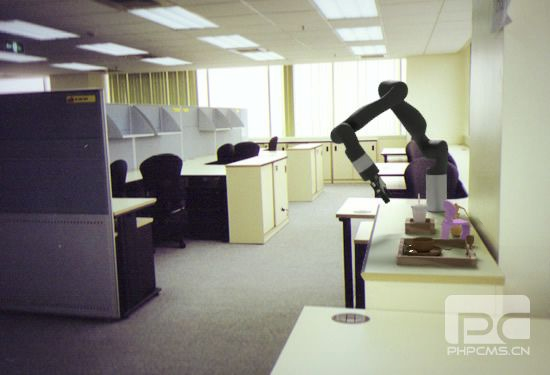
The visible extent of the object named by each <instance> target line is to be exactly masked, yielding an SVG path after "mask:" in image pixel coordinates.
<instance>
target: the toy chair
mask: <svg viewBox="0 0 550 375" xmlns="http://www.w3.org/2000/svg"><path fill="white" fill-rule="evenodd" d="M454 204H455V203H453V202H452V201H450V200H448V199H447V200H445V201H444V203H443V206H444V209H445V211H444V214H446V215H445V219H442V220H443V221H442V224H441V235H440V237H439V238H441V239H450V238H449V237H450V233H451V228H452V227H453V226H457V225H459V226H460V227H461V228H462V233H461V234H460V237H459V239H466V236H467V235H471V234H470V232H471V225H470V221H467V220H464V219H461V218H460V219H458V218H454V219H453V216H455V217H456V216H457V215H456V206H455V205H454Z"/></svg>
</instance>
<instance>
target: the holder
mask: <svg viewBox="0 0 550 375" xmlns="http://www.w3.org/2000/svg"><path fill="white" fill-rule="evenodd" d="M404 234H409V235H410V234H416V235H418V234H420V235H422V234H423V235H424V234H425V235H436V221H435V217H426V220H425V223H419V222H414V221H413V217H406V218H405V222H404Z"/></svg>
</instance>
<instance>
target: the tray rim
mask: <svg viewBox="0 0 550 375" xmlns="http://www.w3.org/2000/svg"><path fill="white" fill-rule="evenodd" d="M413 238H414V237H400V240H399V246H398V249H397V256H396V265H399V266H400V265H402V266H404V265H405V266H430V267H458V268H459V267H461V268H476V267H477V259H476V256H475V255H476V254H475V255H474V253H475V252H474V249H473V247H469V245H468V244H467V243H466V239H460V238H449V239H441V238H440V237H439V238H437V237H436V238H435V237H433V239H434V245H436V246H440V247H442V248H445V247H446V248H447V247H448V248H449V247H450V248H465V250H466V253H467V252H468V255H467V257H464V256H463V257H462V256H460V257H459V256H457V257H456V256H434V257H430V256H410V255H404V252H405V250H404V249H405V246H404V245H408V246H409V245H412V239H413Z"/></svg>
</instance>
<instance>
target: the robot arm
mask: <svg viewBox="0 0 550 375" xmlns="http://www.w3.org/2000/svg"><path fill="white" fill-rule="evenodd" d="M377 88H378V89H377V93H378V96H379V98H378V99H376V100H374V101H371V102H369V103H367V104H365V105H362V106H361V107H359V108H357V110H355V111H354V112H353V113H351V114H350V115H349V116H348V117H347V118H346V119H345V120H343V121H342V122H341V123H339V124H338V125H336V126H335V127H333V128H332V129H331V131H330V137H329V138H330V140H331V141H332V143H334V144H336V145H341V144H343V145H344V147H345V150H344V154H345V156H346V157H347V159H348V160H349V162H350V163H351V164H352V167H353V168H354V169H355V171H356V173H357V174H358V175H359V176H360V178H361V179H362V181H363V182H368V181H369V182H370V184H369V185H370V187H371V188H372V190H373V191H374V193H376V196H378V197H380V198H381V199H382V201H383V202H384V203H385V204H389V203H391V199H390V198H391V197H392V194H391V192H390V191H389V190H388V188H387V185H386V183H385V182H384V180H383V179H382V178H381V177H380V176H381V175H380V174H379V173H380V169H379V167H378V166H377V165H376V163H375V162H374V160H373V159H372V157H370V155H369V154H368V153H367V152H366V150H365V149H364V148H363V146H362V145H361V144H360V141H359V138H358V136H357V134H356V133H357V132H358V131H360V130H361V129H363V128H364V127H365V126H367V125H368V124H370V123H371V122H372V121H373V120H374V119H375V118H377V117H378V116H380V115H381V114H383V113H385V112H387V111H388V110H390V111H392V113H393V114H394V116H396V118H397V119H398V121H399V122H400V123H401V125H402V127H404V129H405V131H406V132H407V133H408V134H409V135H410V137H411V138H412V140H413V142H414V143H415V144H416V146H417V148H418V149H419V151H420V153H421V155H422V157H423V158H424V159H426V160H430V161H431V160H432V161H433V160H434V161H435V163H434V164H433V165H431V166H429V167H426V169H425V188H426V189H425V194H426V195H425V197H426V198H425V199H426V200H425V201H426V203H425V204H426V205H428V208H427V211H428V212H434V213H435V212H437V213H438V212H439V213H440V212H445V209H444V206H443V203H444V201H445V200H448V199H447V198H448V197H447V194H448V192H447V191H448V190H447V188H448V186H447V185H448V183H447V182H448V181H447V171H448V163H449V161H448V160H449V145H448V143H447V141H446V140H443V139H429V137H427V135H426V133H427V127H428V123H427V121H426V119H425V117H424V115H423V114H422V113H421V112H420V110H418V109H417V108H416V107H414V106H413V105H412V104H410V103H409V102H408V101H406V98H407V96H408V94H409V87H408V85H407V83H406V82H404V81H402V80H395V79H385V80H382V81H381V82H380V83H379V85H378V87H377Z"/></svg>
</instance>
